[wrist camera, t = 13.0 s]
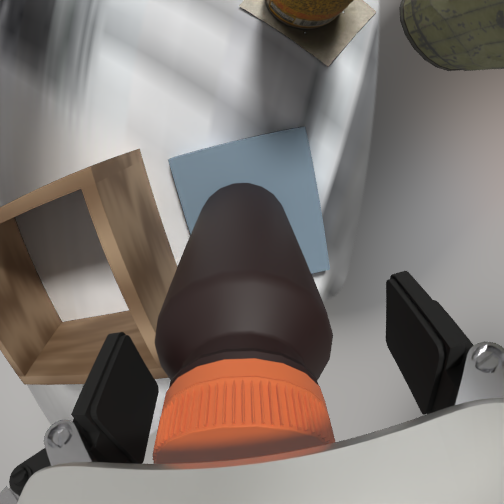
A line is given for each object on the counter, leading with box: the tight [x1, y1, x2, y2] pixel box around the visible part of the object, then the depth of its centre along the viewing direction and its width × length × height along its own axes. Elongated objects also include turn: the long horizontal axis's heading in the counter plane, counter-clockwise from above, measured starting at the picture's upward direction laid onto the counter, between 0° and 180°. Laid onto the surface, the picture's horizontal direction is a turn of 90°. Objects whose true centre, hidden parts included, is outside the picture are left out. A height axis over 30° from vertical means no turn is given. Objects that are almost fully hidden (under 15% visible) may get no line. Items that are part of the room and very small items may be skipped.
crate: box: [0, 149, 177, 385], centre depth 23 cm, size 15×16×9 cm
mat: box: [168, 127, 330, 274], centre depth 26 cm, size 12×10×1 cm
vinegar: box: [153, 183, 335, 464], centre depth 16 cm, size 7×7×20 cm
